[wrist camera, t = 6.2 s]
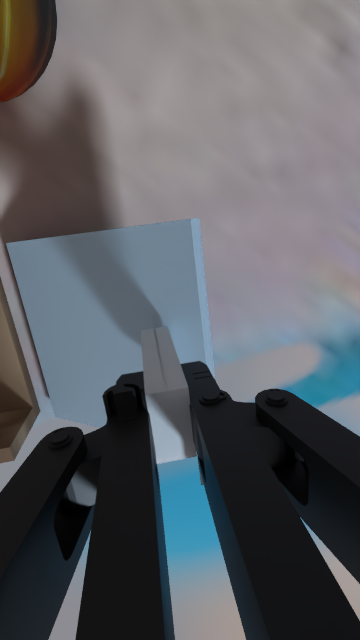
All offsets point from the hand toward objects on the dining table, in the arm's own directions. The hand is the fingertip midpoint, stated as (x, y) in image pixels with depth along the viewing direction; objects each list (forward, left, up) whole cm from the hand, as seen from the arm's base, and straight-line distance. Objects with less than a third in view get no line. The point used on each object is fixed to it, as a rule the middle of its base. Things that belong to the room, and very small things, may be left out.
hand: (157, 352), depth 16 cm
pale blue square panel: (+2, -1, -4) cm, 4 cm away
